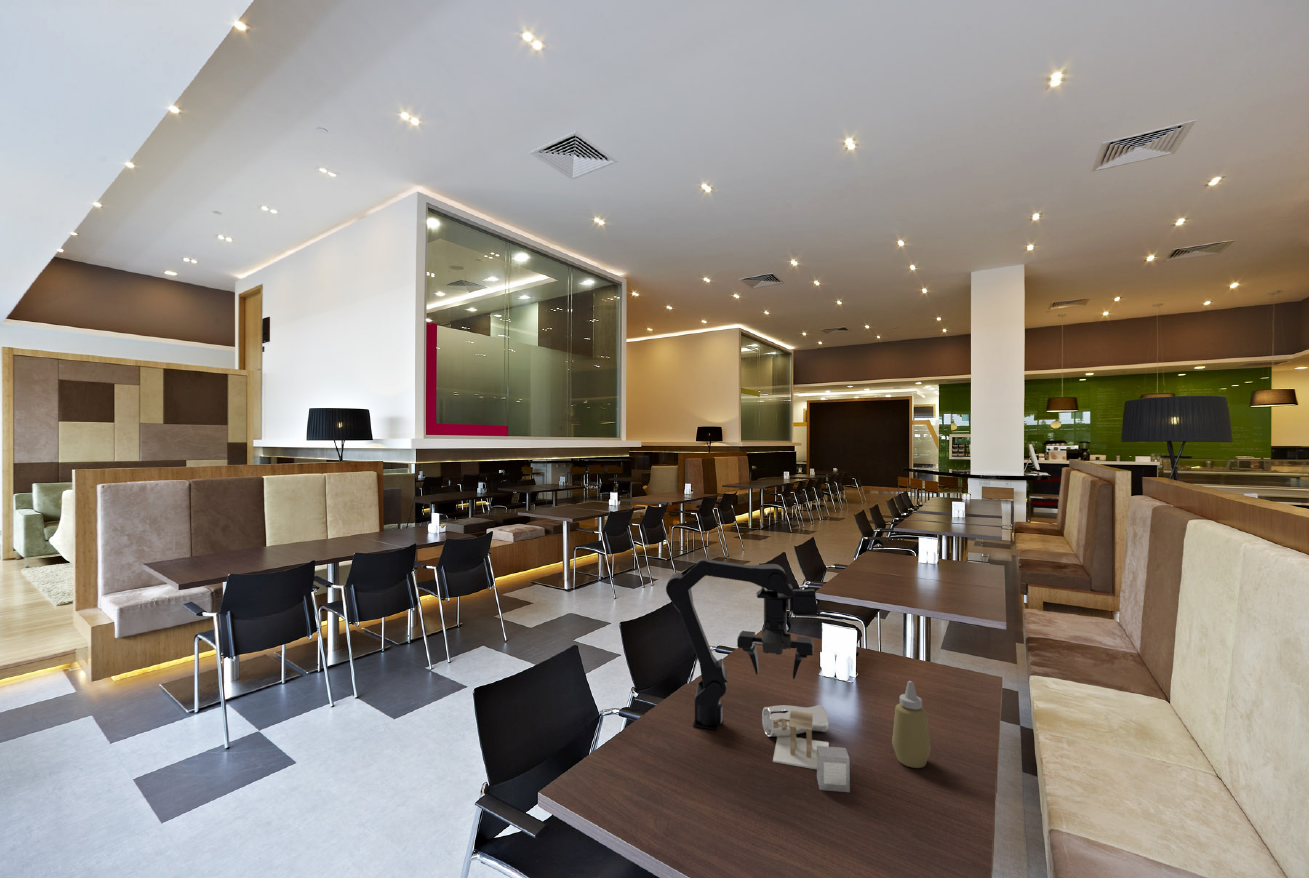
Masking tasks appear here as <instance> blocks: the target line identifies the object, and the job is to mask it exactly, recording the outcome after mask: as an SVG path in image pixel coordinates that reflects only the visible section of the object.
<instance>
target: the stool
mask: <svg viewBox="0 0 1309 878" xmlns="http://www.w3.org/2000/svg"><path fill="white" fill-rule="evenodd" d="M812 722H813V713H806V712H799V711H793V710H791V713H790V719H789V726H790V755H795V747H796V737H797V735H796V727H797V728H803V729H806V732H805V733H806V736H805V737H806V738H805V739H806V754H807V757H808V758H811V750H812V740H813V733H812V732H813V731H812Z"/></svg>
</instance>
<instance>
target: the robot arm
mask: <svg viewBox="0 0 1309 878" xmlns="http://www.w3.org/2000/svg"><path fill="white" fill-rule="evenodd" d="M705 577H713V578H719V579H726V580H735V581H741V582H745V583H746V582H747V583H751V584H754V585H756V586H759V587H761V588H760V589H759V590H758V591H756V593H755V594H756V597H757V598H758V599H763V630H762V633H761V634H762V635H761V636H756V632H755V631H751V630H750V631H748V630H747V631H746V630H741V632H739V634H738V636H737V641H736V642H737V645H736V646H737V648H739V649H742V651H743V652H746V653H747V655H749V658H750V661H751V663H752V666H753V669H754V672H755V675H757V676H758V675H759V658H758V655H759V654H758V646H762V652H763V653H764V654H776V655H779V656H780V655H782V654H783V651H784V650H791V649H795V655H794V663H793V669H792V671H793V672H792V679H793V680H795V679H796V676H797V672H798V670H799V667H800V664H801V662H802V660H803V659H807V658H808V656H810V657H811V656H813V654H814V639H813V638H812V637H807V636H796V637H797V638H796V640H795V639H792V638H791V637H792V635H791V633H788V631H787V628H788V627H787V626H788V625H787V621H788V620H787V617H788V616H787V615H788V614H787V600H788V612H789V613H792V615H793V616H794V617H803V618H804V617H805V618H817V617H818V609H819V608H818V604H817V596H816V591H815V588H809V589H808V588H807V589H803V588H802V589H801V588H800V589H798V588H797V589H796V588H795V589H794V587H793V585H792V583H789V581H788V576H787V573H786V572H785V570H784V568H783V567H782V566H781V565H779V564H777V563H765V564H764V563H763V564H756V565H749V564H742V563H737V562H736V563H735V562H729V561H722V560H721V561H720V560H713V559H708V558H705V557H701V558H698V560H697V561H696V562H695V563H694V564H692V565H690V566H689V567H687V568H686V569H684V570H682V572H676V573H674V574H672V575H671V576H670V577H669V579H668V582H667V584H666V585H665V591H666V595H667V597H668V598H669V599H670V601H671V603H672V605H673V606H674V608H675V609H676V610H677V611H678V612H679V614H680V616H681V620H682V621H683V624H684V626H685V627H684V628H685V629H686V632H687V635H688V637H689V640H690V643H691V645H692V647H693V650H694V652H695V656H696V658H697V660H698V664H699V668H700V674H701V676H700V677H701V680H700V681H698V682H697V684H696V685H697V686H696V692H695V698H694V720H693V723H692V727H695V728H701V729H708V730H713V731H718V730H719V728H720V725H721V724H722V722H723V719H724V717H723V713H724V710H723V709H724V707H723V704H722V703H721V700H722V699H721V698H722V697H723V696H724V695H725V694H726V692H727V684H728V675H729V673H728V671H727V669H726V668H725V665H724V660H723V658H720V659H717V657H715V656H714V654H713V651H712V649H711V646H710V644H709V641H708V639H707V636H706V633H705V631H704V628H703V626H702V623H701V620H700V618H699V615H698V613H697V610H696V607H695V605H694V600H693V599H694V598H693V591H692V588H693V587H695V585H696V584H698V582H700V581H701V580H702V579H703V578H705ZM779 592H780V593H779ZM757 645H758V646H757Z"/></svg>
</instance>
